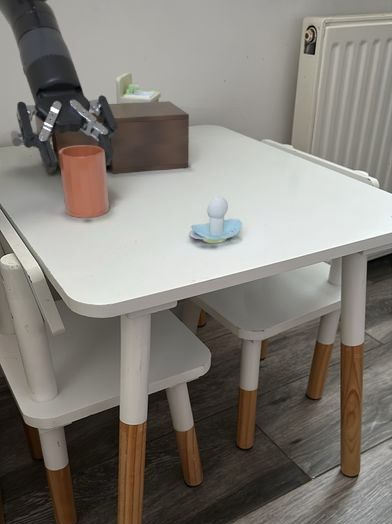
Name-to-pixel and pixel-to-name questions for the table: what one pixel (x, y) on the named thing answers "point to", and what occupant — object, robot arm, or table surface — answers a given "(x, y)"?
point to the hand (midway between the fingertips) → (82, 164)
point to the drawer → (61, 139)
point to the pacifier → (216, 224)
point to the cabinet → (149, 137)
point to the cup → (84, 180)
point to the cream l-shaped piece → (133, 91)
